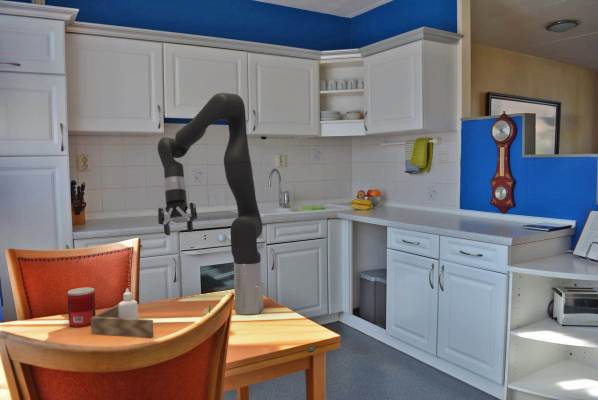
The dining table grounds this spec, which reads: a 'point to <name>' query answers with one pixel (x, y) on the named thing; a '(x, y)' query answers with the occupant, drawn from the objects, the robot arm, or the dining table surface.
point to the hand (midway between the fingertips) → (178, 233)
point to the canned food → (81, 306)
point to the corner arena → (120, 325)
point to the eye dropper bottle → (128, 307)
